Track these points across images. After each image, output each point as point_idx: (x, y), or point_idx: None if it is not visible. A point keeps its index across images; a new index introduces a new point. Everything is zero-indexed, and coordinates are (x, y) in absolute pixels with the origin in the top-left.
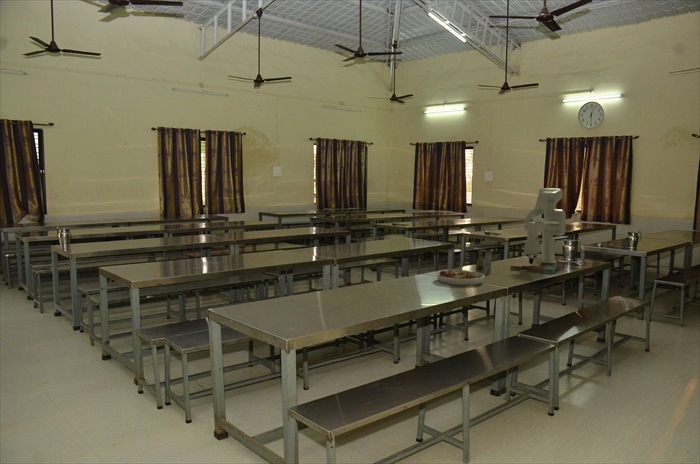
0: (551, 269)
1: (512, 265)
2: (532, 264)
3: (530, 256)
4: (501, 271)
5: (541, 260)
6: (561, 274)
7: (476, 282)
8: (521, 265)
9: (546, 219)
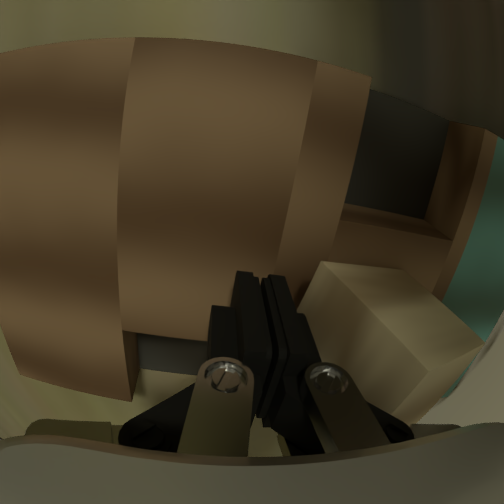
0: (441, 397)
1: (25, 362)
2: (274, 133)
3: (237, 418)
4: (36, 417)
5: (433, 404)
6: (479, 355)
7: None
8: (103, 332)
9: None
